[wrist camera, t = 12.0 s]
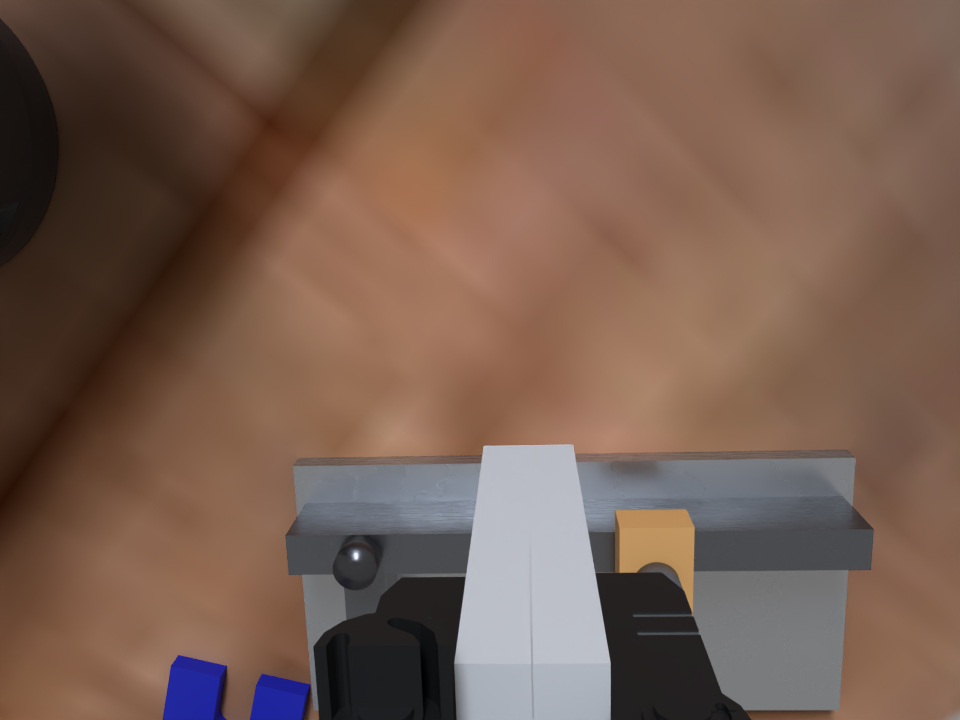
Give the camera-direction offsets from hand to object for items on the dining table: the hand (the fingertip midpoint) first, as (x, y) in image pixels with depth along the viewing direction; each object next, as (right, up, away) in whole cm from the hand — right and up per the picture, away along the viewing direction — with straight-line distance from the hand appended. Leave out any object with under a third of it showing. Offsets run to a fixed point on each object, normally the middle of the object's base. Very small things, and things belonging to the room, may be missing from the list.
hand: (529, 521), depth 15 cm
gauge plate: (+4, -9, +32) cm, 34 cm away
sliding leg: (+7, -8, +30) cm, 32 cm away
